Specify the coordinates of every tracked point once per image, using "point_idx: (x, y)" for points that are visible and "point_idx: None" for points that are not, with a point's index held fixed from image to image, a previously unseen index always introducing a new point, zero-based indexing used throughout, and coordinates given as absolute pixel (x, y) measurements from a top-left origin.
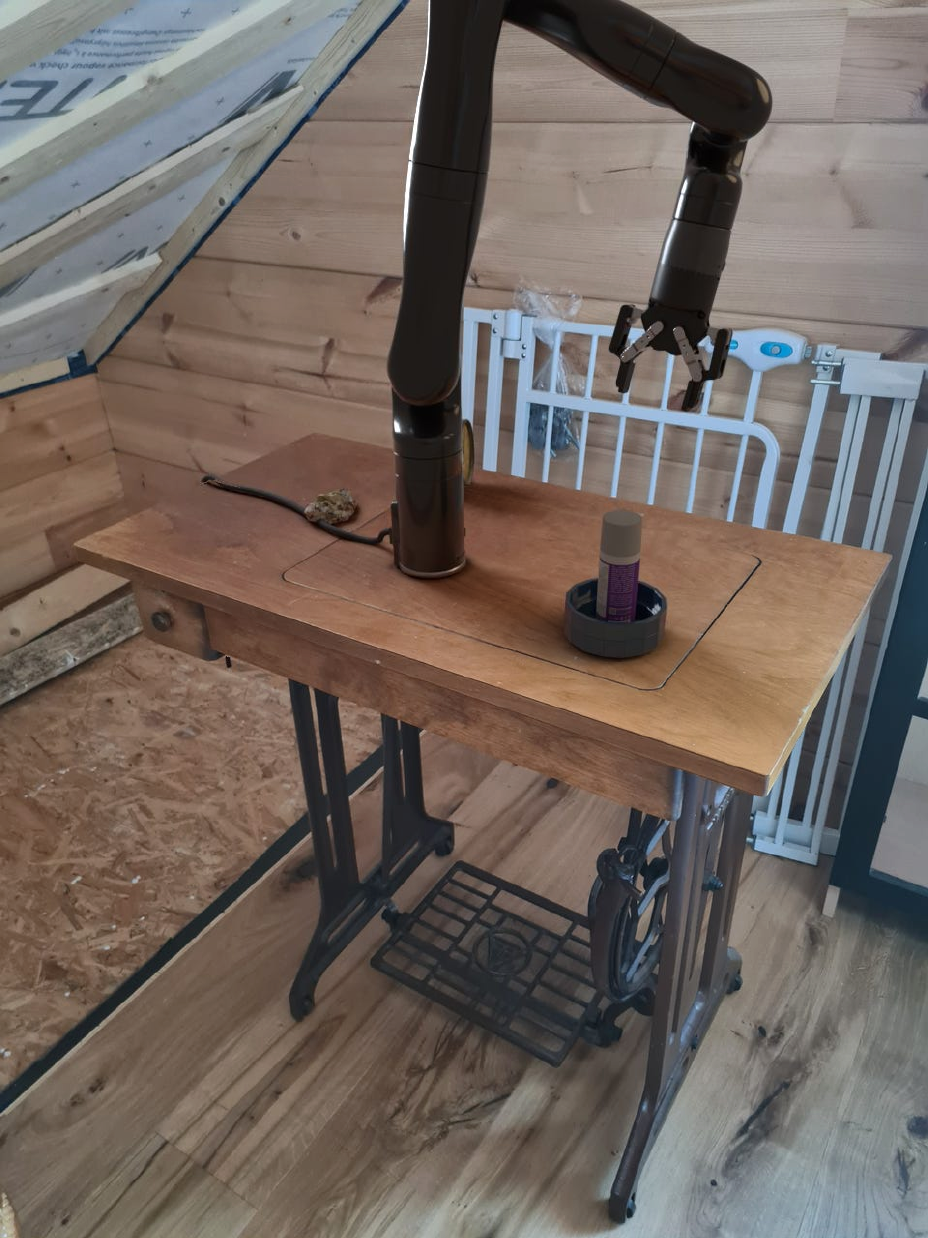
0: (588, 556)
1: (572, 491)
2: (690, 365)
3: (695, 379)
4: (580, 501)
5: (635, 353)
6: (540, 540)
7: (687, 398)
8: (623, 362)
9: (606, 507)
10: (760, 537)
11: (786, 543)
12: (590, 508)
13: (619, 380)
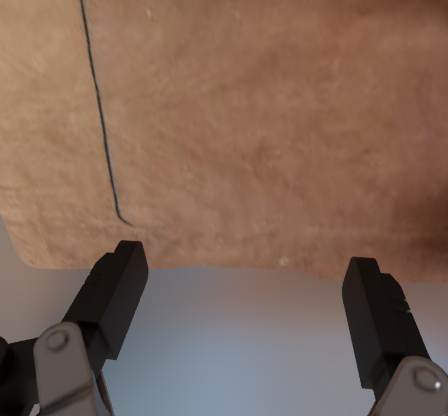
0: (304, 132)
1: None
2: (79, 386)
3: (67, 329)
4: None
5: (380, 407)
6: (379, 145)
7: (112, 267)
8: (415, 360)
9: (326, 262)
10: None
11: None
12: (343, 252)
13: (388, 292)
